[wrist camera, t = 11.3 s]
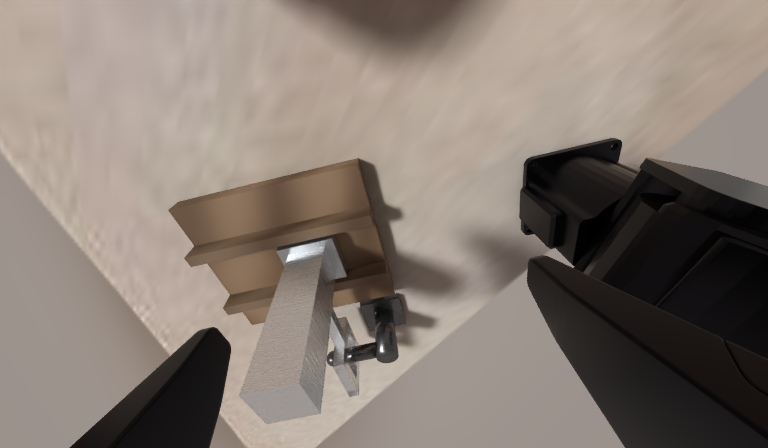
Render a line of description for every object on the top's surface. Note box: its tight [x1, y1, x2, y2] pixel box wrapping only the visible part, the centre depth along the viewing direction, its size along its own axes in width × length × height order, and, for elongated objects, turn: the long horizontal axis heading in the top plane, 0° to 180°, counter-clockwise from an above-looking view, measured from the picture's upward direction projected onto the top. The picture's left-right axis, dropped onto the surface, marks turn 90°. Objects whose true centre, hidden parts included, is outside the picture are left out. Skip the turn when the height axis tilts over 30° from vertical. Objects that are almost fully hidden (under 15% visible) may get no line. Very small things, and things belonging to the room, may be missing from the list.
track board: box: [169, 158, 395, 325], centre depth 21 cm, size 13×12×3 cm
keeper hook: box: [327, 293, 406, 366], centre depth 25 cm, size 7×4×5 cm, turn 103°
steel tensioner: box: [239, 234, 359, 424], centre depth 19 cm, size 4×13×10 cm, turn 13°
